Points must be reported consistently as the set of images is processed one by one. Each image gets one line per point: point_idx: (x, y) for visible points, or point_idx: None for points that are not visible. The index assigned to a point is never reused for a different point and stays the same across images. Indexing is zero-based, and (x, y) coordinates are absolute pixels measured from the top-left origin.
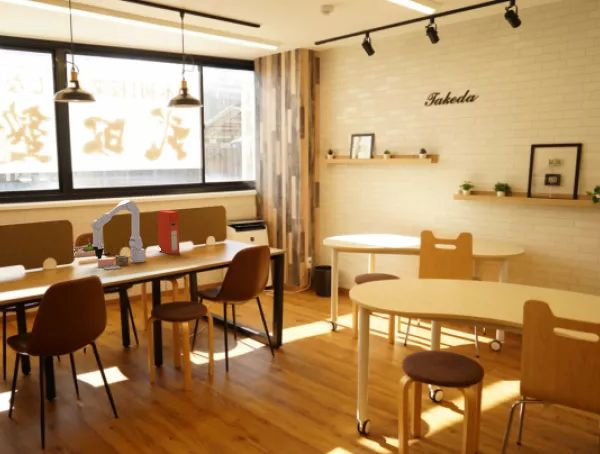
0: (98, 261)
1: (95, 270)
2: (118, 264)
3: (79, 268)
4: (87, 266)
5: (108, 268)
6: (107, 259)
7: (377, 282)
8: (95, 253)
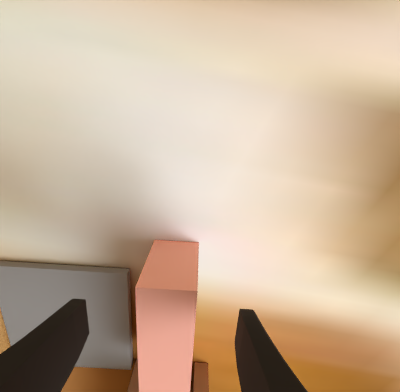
0: (139, 277)
1: (14, 188)
2: (133, 374)
3: (177, 53)
4: (238, 157)
5: (21, 292)
6: (139, 366)
7: None
8: (259, 351)
